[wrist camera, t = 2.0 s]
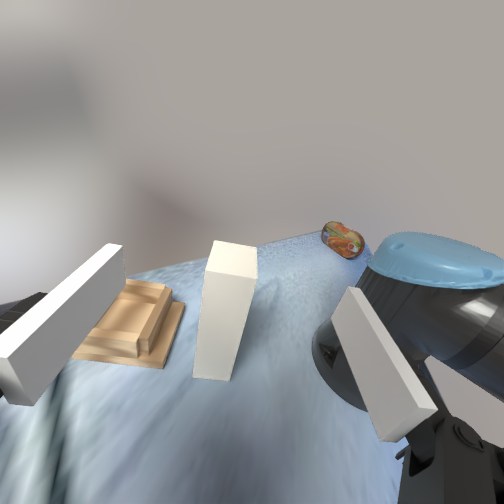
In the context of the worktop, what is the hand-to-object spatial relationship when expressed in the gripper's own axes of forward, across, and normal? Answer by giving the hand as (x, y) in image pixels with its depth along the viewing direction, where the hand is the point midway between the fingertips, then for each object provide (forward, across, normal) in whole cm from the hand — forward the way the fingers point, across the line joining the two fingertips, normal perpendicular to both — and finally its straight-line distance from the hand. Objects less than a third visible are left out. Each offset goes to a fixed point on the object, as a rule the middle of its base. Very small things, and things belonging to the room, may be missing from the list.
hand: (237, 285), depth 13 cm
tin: (+53, +34, -22) cm, 67 cm away
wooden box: (+13, -14, -22) cm, 29 cm away
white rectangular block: (+10, 0, -22) cm, 24 cm away
